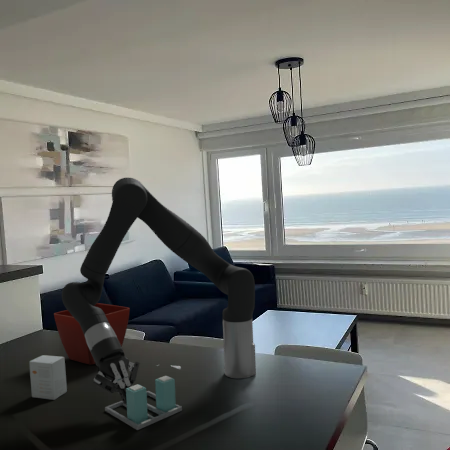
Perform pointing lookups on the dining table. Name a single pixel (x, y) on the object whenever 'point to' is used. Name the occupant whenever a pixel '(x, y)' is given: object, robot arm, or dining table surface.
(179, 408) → the switch board
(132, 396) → the tab
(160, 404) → the tab
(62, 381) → the small box
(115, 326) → the plant pot
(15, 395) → the dining table surface
